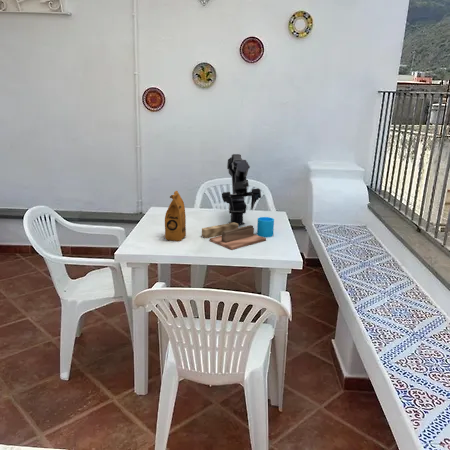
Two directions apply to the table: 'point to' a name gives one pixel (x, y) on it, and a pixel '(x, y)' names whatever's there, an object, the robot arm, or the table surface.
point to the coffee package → (175, 219)
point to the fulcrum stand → (238, 238)
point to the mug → (265, 227)
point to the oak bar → (218, 229)
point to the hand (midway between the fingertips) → (242, 210)
